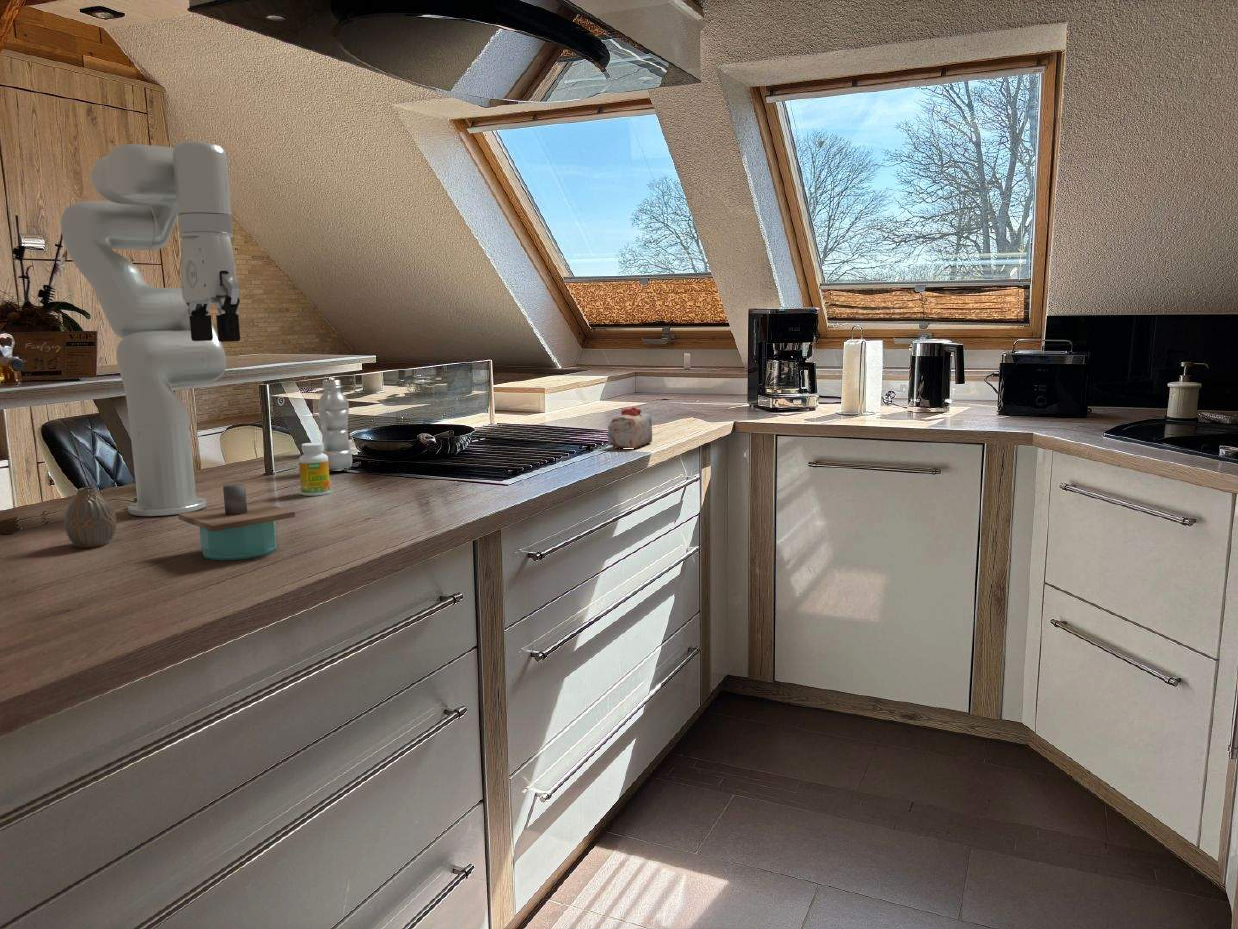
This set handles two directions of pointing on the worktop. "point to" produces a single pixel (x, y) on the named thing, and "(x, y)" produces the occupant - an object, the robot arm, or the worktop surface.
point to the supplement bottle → (314, 470)
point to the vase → (90, 519)
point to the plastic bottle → (335, 425)
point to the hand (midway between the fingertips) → (215, 341)
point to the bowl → (239, 542)
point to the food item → (630, 429)
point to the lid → (235, 512)
